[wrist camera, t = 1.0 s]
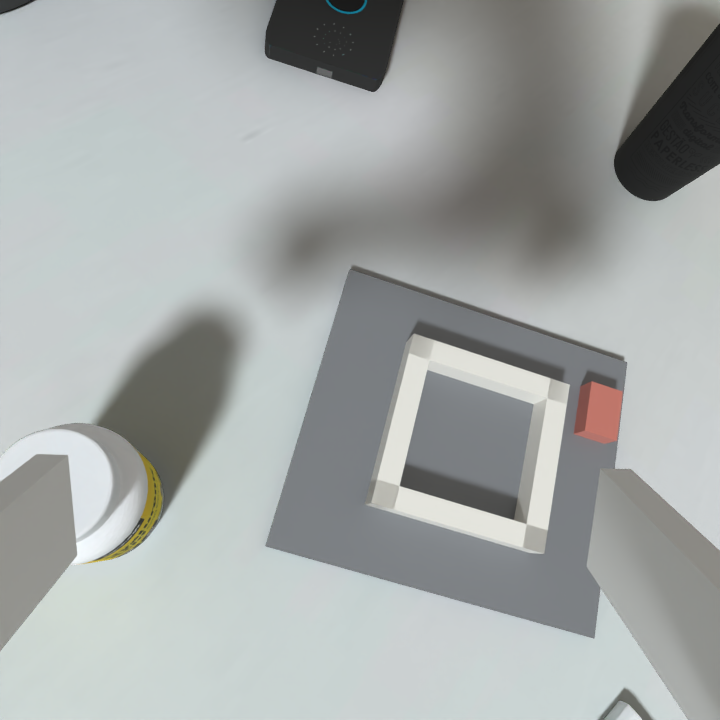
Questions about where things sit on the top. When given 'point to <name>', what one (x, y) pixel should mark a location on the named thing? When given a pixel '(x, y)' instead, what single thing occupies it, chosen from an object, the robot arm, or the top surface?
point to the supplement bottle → (99, 486)
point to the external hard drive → (622, 712)
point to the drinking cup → (677, 131)
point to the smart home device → (335, 38)
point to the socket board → (454, 455)
